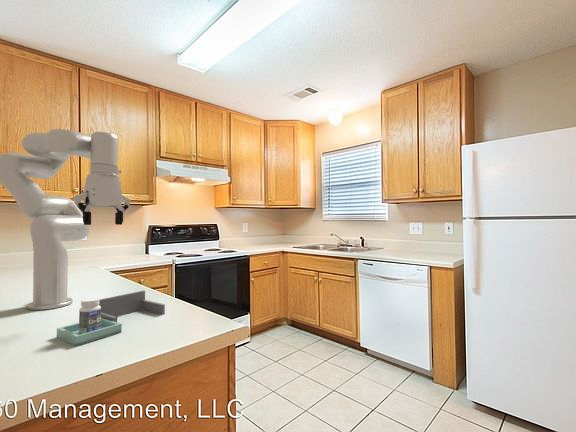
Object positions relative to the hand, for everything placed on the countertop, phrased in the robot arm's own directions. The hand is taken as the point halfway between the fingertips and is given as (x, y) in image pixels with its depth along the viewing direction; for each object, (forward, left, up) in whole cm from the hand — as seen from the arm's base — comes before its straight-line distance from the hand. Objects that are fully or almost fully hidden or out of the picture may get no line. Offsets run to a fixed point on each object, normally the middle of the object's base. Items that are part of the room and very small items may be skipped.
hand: (103, 224), depth 98 cm
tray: (+16, -11, -28) cm, 35 cm away
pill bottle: (+16, -11, -28) cm, 34 cm away
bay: (+12, +2, -28) cm, 31 cm away
